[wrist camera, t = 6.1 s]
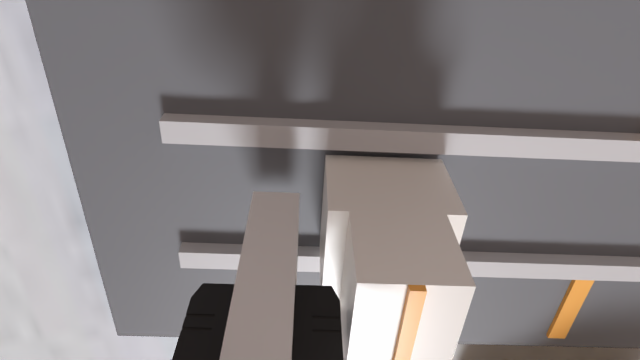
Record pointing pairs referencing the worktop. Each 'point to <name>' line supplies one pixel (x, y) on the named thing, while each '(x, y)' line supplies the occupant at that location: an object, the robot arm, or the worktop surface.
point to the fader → (395, 256)
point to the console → (358, 142)
